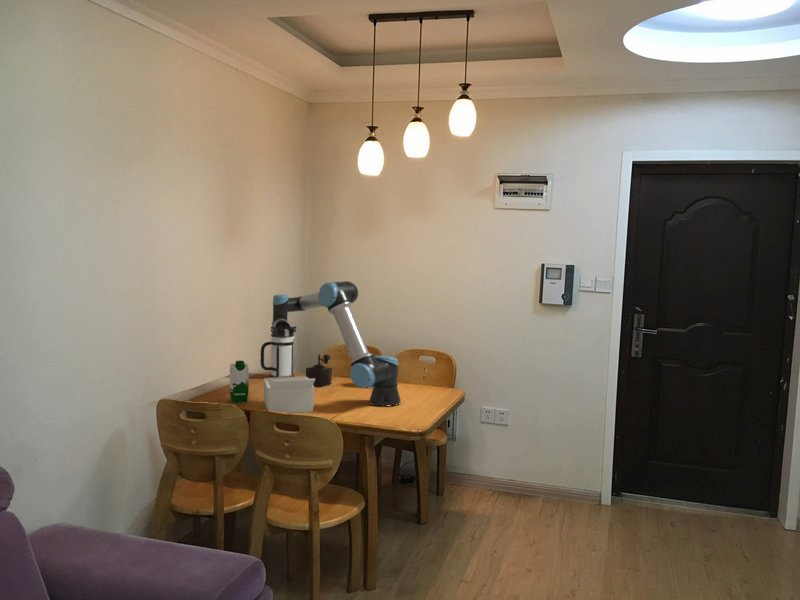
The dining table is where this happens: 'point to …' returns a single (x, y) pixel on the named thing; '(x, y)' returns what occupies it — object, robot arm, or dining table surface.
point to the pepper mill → (320, 372)
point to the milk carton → (239, 382)
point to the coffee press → (280, 355)
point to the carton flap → (292, 383)
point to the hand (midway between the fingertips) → (287, 333)
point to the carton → (288, 397)
